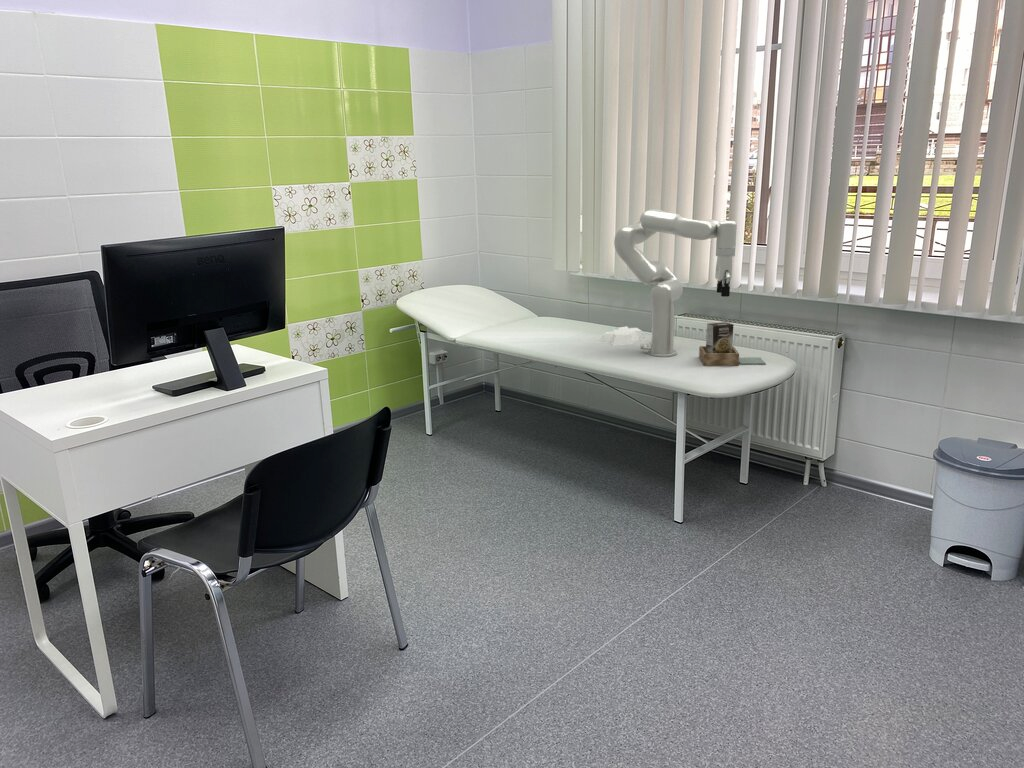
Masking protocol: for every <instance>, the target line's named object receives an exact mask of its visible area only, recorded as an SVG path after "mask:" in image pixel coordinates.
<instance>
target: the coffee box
mask: <svg viewBox="0 0 1024 768" xmlns="http://www.w3.org/2000/svg"><path fill="white" fill-rule="evenodd" d="M705 341H706V342H705V346H706V353H732V346H733V342H734V323H731V322H726V321H723V322H712V323H711V322H710V323H706V338H705Z"/></svg>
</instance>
